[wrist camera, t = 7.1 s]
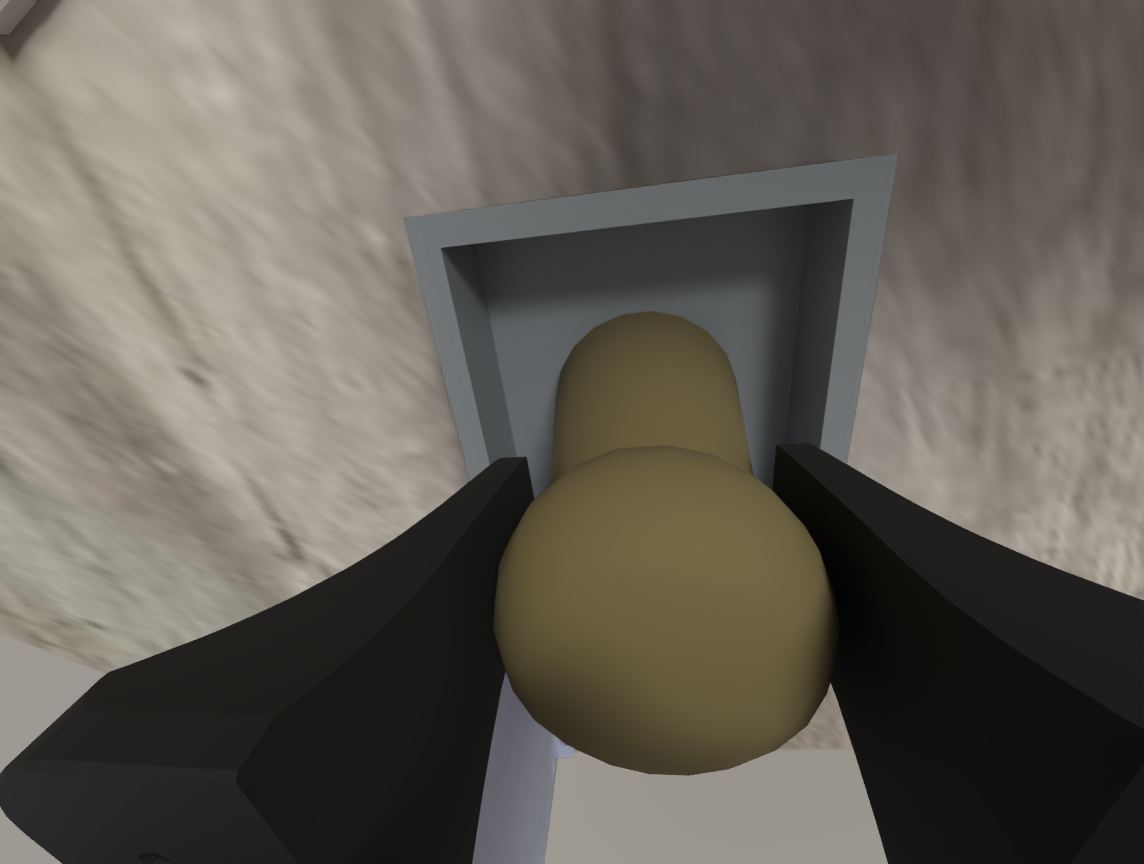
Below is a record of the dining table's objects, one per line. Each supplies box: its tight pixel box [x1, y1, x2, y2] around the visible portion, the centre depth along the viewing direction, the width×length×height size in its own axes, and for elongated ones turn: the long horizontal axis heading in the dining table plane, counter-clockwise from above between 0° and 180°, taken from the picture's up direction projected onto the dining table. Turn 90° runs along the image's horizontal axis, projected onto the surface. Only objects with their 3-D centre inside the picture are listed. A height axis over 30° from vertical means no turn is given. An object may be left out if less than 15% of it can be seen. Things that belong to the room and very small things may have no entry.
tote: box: [403, 153, 899, 499], centre depth 15 cm, size 12×12×4 cm
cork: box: [493, 311, 840, 775], centre depth 11 cm, size 6×6×11 cm
